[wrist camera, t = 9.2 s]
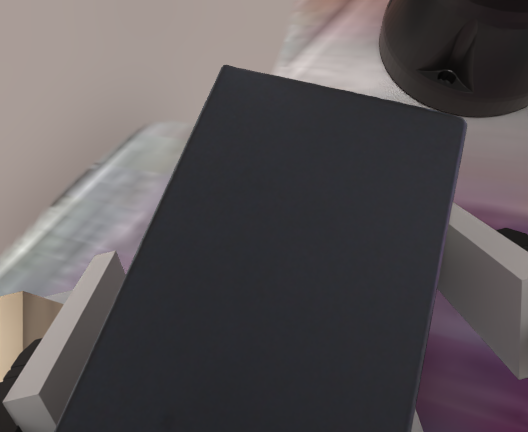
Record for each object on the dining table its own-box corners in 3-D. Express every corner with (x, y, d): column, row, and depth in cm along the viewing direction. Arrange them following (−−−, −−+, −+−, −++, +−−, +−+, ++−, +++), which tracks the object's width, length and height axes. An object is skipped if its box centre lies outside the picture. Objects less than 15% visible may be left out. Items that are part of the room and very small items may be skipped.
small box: (330, 517, 15) (381, 754, 5) (170, 452, 16) (-21, 548, 7) (391, 252, 19) (487, 108, 9) (255, 214, 20) (210, 54, 10)
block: (114, 320, 28) (22, 291, 19) (130, 507, 24) (22, 585, 15) (14, 344, 28) (-125, 327, 19) (14, 535, 24) (-166, 632, 15)
